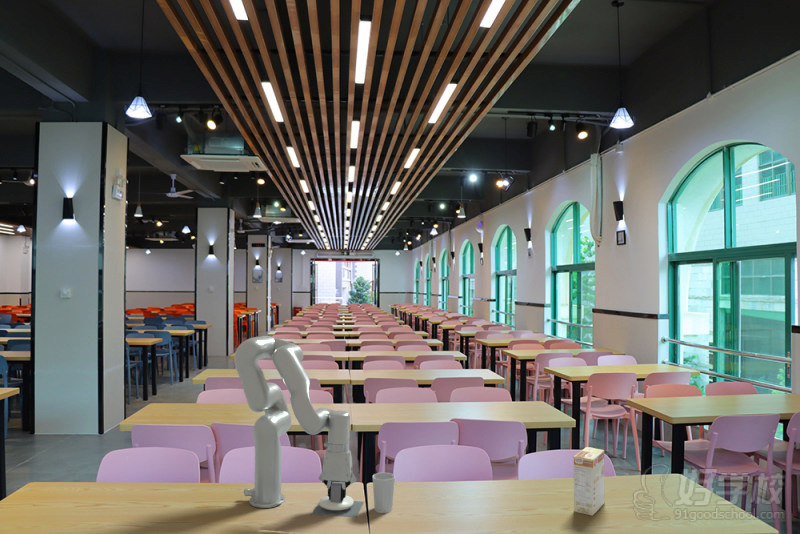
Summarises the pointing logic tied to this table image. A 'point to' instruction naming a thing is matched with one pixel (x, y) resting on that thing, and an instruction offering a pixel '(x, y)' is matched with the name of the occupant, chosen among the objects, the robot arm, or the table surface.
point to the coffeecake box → (589, 481)
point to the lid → (336, 499)
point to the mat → (348, 512)
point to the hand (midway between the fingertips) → (336, 498)
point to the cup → (383, 492)
